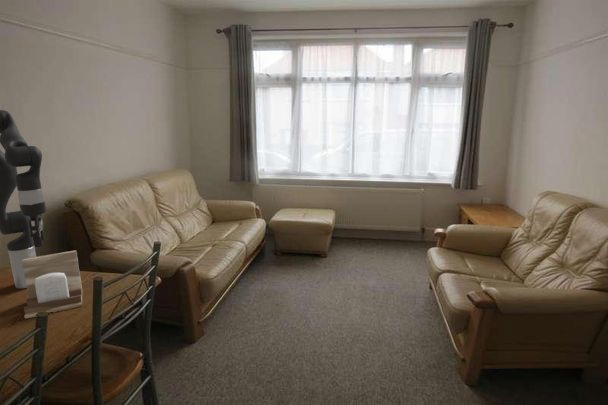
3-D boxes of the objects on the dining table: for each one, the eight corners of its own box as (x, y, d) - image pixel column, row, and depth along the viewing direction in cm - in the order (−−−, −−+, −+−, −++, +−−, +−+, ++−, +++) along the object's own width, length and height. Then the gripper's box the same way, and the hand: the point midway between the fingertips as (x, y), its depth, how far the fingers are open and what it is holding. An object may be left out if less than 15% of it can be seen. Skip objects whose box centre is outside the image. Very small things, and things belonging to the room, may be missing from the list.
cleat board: (30, 300, 147) (22, 258, 143) (82, 290, 156) (76, 250, 152) (24, 318, 134) (15, 273, 130) (81, 306, 143) (74, 262, 139)
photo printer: (70, 297, 148) (65, 269, 145) (70, 301, 144) (65, 272, 141) (39, 304, 142) (33, 275, 139) (38, 309, 139) (32, 279, 136)
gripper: (21, 198, 138) (29, 239, 142) (16, 206, 126) (24, 251, 130) (46, 196, 142) (52, 236, 145) (42, 203, 130) (50, 247, 133)
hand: (39, 243), depth 138 cm, fingers open, 8 cm apart
